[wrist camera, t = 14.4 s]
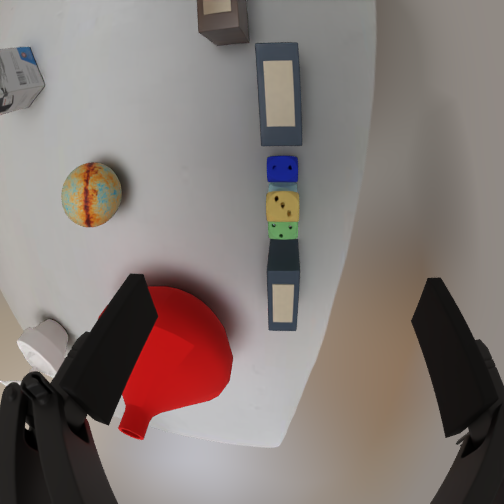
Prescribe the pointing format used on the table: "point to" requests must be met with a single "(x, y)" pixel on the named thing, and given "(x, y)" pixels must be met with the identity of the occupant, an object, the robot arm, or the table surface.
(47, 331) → the potted plant
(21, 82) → the ink box
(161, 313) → the vase
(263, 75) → the blue block
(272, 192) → the dice
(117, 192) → the ball
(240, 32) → the brown paneled block
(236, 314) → the table surface
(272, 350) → the table surface
